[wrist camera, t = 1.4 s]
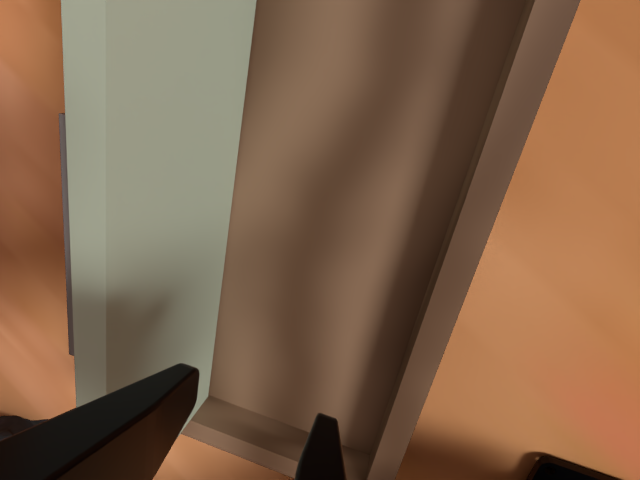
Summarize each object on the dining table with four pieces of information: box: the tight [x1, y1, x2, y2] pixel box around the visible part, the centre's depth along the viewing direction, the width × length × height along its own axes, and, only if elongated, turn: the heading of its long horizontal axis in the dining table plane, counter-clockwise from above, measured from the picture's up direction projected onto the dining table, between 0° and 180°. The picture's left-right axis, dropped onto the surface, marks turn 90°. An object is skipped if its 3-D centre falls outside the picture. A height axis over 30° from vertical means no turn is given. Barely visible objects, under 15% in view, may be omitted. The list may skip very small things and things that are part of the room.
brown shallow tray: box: [180, 0, 580, 480], centre depth 18 cm, size 12×26×3 cm, turn 168°
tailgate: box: [59, 0, 257, 439], centre depth 15 cm, size 2×24×8 cm, turn 168°
